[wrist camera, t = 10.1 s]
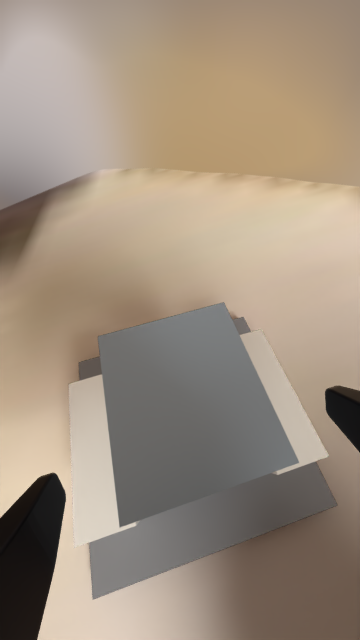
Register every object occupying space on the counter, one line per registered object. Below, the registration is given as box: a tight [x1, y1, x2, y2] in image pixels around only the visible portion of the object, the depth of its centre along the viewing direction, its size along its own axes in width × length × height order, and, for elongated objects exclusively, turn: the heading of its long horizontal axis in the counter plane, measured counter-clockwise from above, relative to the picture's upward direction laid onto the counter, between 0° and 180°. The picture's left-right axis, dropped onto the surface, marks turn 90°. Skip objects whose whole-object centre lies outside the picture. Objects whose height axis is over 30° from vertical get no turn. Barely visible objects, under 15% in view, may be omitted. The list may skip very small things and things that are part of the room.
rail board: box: [68, 317, 337, 599], centre depth 15 cm, size 14×15×4 cm
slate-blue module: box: [98, 302, 299, 527], centre depth 11 cm, size 5×4×11 cm
